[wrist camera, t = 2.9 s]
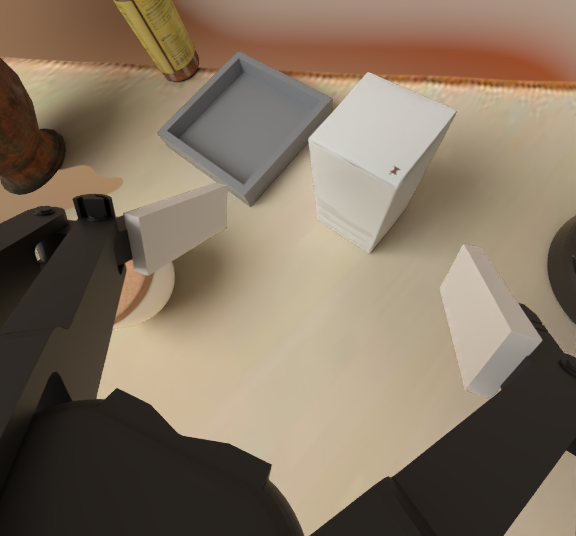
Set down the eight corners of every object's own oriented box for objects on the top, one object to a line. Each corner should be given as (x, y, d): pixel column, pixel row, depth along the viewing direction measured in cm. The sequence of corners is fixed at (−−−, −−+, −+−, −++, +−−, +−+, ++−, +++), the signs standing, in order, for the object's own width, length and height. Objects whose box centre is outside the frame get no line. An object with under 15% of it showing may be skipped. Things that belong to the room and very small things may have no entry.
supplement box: (409, 205, 29) (464, 109, 17) (368, 256, 29) (397, 192, 16) (354, 172, 32) (369, 67, 20) (314, 219, 31) (304, 138, 19)
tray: (332, 115, 34) (332, 98, 32) (250, 206, 32) (243, 195, 30) (243, 68, 39) (238, 50, 36) (167, 146, 37) (156, 132, 35)
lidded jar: (97, 331, 31) (3, 325, 22) (118, 244, 34) (43, 208, 25) (183, 336, 29) (119, 332, 20) (197, 244, 32) (147, 205, 23)
